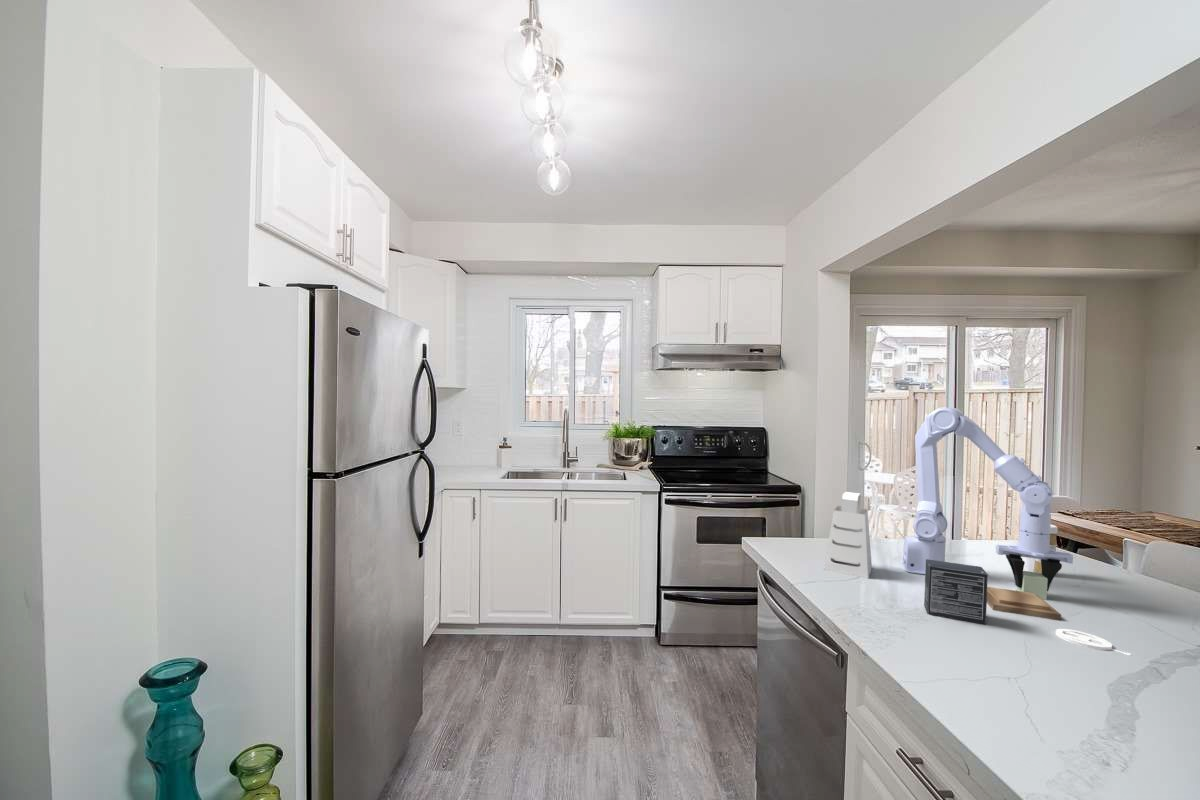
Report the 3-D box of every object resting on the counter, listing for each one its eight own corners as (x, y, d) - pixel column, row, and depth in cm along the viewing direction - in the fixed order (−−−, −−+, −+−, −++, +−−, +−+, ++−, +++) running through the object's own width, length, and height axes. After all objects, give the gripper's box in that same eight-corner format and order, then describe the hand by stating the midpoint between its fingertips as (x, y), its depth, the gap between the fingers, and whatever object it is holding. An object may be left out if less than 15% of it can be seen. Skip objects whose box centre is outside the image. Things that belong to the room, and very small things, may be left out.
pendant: (1060, 629, 110) (1060, 625, 110) (1135, 651, 101) (1136, 647, 101) (1050, 638, 105) (1050, 633, 105) (1128, 661, 97) (1128, 657, 97)
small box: (980, 614, 115) (982, 565, 115) (987, 625, 110) (989, 574, 109) (922, 604, 120) (925, 557, 120) (926, 614, 114) (929, 565, 114)
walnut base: (993, 609, 118) (993, 600, 118) (976, 591, 129) (977, 583, 129) (1060, 620, 114) (1061, 610, 114) (1037, 600, 125) (1038, 592, 125)
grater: (823, 569, 141) (827, 494, 141) (830, 560, 150) (833, 488, 150) (867, 578, 136) (871, 499, 136) (871, 567, 145) (875, 493, 144)
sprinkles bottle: (1035, 570, 149) (1038, 521, 149) (1056, 574, 145) (1059, 525, 145) (1031, 573, 146) (1034, 523, 146) (1052, 577, 143) (1055, 527, 142)
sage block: (1023, 596, 127) (1024, 575, 127) (1016, 590, 132) (1017, 569, 132) (1046, 599, 126) (1047, 578, 126) (1038, 593, 130) (1039, 572, 130)
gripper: (1003, 531, 127) (1000, 588, 128) (1080, 539, 122) (1077, 599, 122) (994, 525, 134) (991, 579, 134) (1066, 532, 129) (1063, 589, 129)
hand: (1031, 588), depth 129 cm, fingers closed on sage block, 4 cm apart
